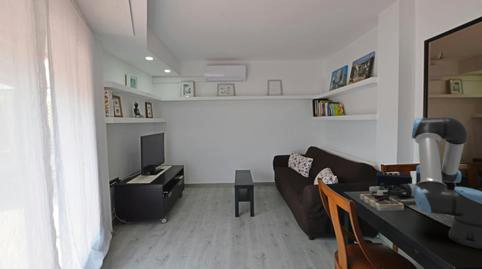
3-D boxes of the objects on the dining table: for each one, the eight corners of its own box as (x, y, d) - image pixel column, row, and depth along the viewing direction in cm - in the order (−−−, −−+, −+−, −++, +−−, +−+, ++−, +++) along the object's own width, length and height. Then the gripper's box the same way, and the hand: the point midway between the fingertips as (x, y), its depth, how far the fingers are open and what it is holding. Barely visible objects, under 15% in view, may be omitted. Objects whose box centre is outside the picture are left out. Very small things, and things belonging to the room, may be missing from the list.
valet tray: (403, 210, 151) (403, 204, 151) (378, 211, 151) (378, 205, 151) (382, 198, 173) (382, 193, 173) (360, 199, 173) (360, 194, 173)
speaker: (409, 192, 185) (409, 172, 184) (412, 197, 174) (412, 176, 173) (376, 189, 195) (376, 170, 194) (376, 194, 184) (376, 174, 183)
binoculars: (368, 183, 166) (383, 181, 166) (370, 199, 167) (385, 197, 166) (375, 187, 157) (391, 185, 157) (377, 203, 158) (393, 201, 157)
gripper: (419, 200, 152) (382, 202, 151) (397, 190, 173) (365, 192, 172) (420, 188, 151) (382, 189, 151) (397, 180, 172) (365, 181, 172)
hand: (373, 191), depth 162 cm, fingers closed on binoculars, 8 cm apart
